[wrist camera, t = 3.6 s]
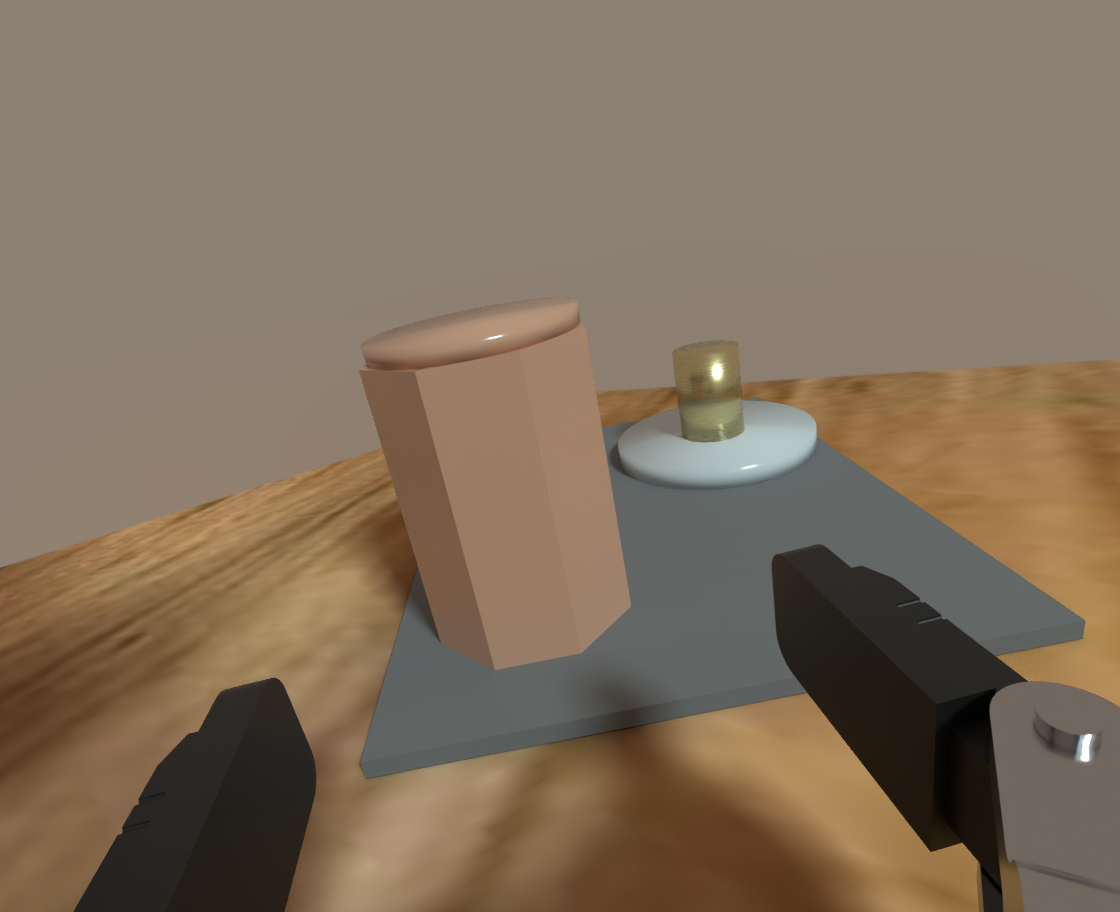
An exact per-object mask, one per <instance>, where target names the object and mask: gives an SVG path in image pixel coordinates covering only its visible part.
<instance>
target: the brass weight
mask: <svg viewBox="0 0 1120 912" xmlns="http://www.w3.org/2000/svg"><path fill="white" fill-rule="evenodd" d="M672 356H673V364H674V373H675V381H676V390H677V398H678V407H679V415H680V423H681V432H682V437H683V438H685V439H686V440H689V441H693V442H702V443H708V442H719V441H724V440H728V439H731V438H734V437H737V436H739V435H740V434H742V433H743V432H744V430H745V427H744V415H743V402H742V390H741V378H740V365H739V353H738V344H737V343H736V342H733V341H724V340H722V341H721V340H720V341H707V342H699V343H694V344H690V345H686V346H683V347H680V348H678V349H676V350H674V351H673V352H672Z"/></svg>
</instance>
